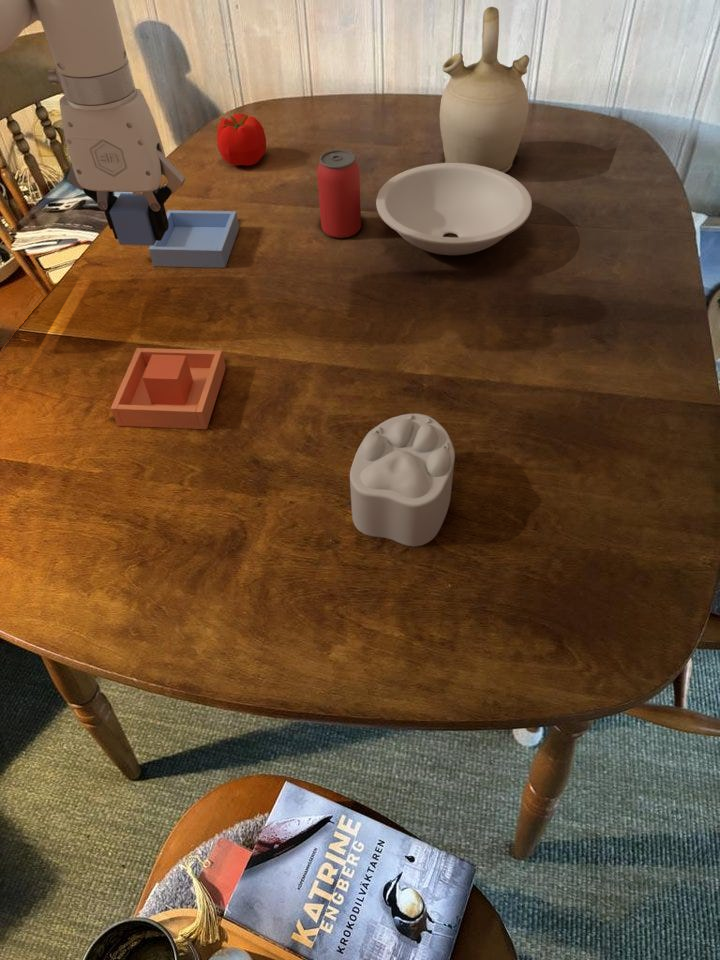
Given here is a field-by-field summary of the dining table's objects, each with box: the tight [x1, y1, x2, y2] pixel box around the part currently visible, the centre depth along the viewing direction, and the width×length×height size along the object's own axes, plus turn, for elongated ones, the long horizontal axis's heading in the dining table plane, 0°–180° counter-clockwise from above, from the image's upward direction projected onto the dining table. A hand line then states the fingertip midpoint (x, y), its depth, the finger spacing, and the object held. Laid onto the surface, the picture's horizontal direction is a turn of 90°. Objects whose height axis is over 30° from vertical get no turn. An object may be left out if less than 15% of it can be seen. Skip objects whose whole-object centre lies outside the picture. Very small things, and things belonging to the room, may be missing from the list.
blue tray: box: [148, 209, 240, 269], centre depth 116 cm, size 12×12×3 cm
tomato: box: [216, 113, 267, 167], centre depth 132 cm, size 9×9×8 cm
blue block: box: [110, 192, 157, 247], centre depth 90 cm, size 4×4×4 cm
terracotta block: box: [143, 354, 193, 405], centre depth 92 cm, size 4×4×4 cm
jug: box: [439, 6, 530, 174], centre depth 122 cm, size 15×16×25 cm
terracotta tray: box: [110, 347, 227, 430], centre depth 93 cm, size 12×12×3 cm
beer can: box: [316, 149, 362, 239], centre depth 114 cm, size 7×7×12 cm
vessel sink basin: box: [375, 162, 533, 256], centre depth 114 cm, size 24×24×7 cm
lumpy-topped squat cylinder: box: [349, 413, 456, 547], centre depth 79 cm, size 10×13×9 cm
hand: (141, 232), depth 92 cm, fingers closed on blue block, 4 cm apart
